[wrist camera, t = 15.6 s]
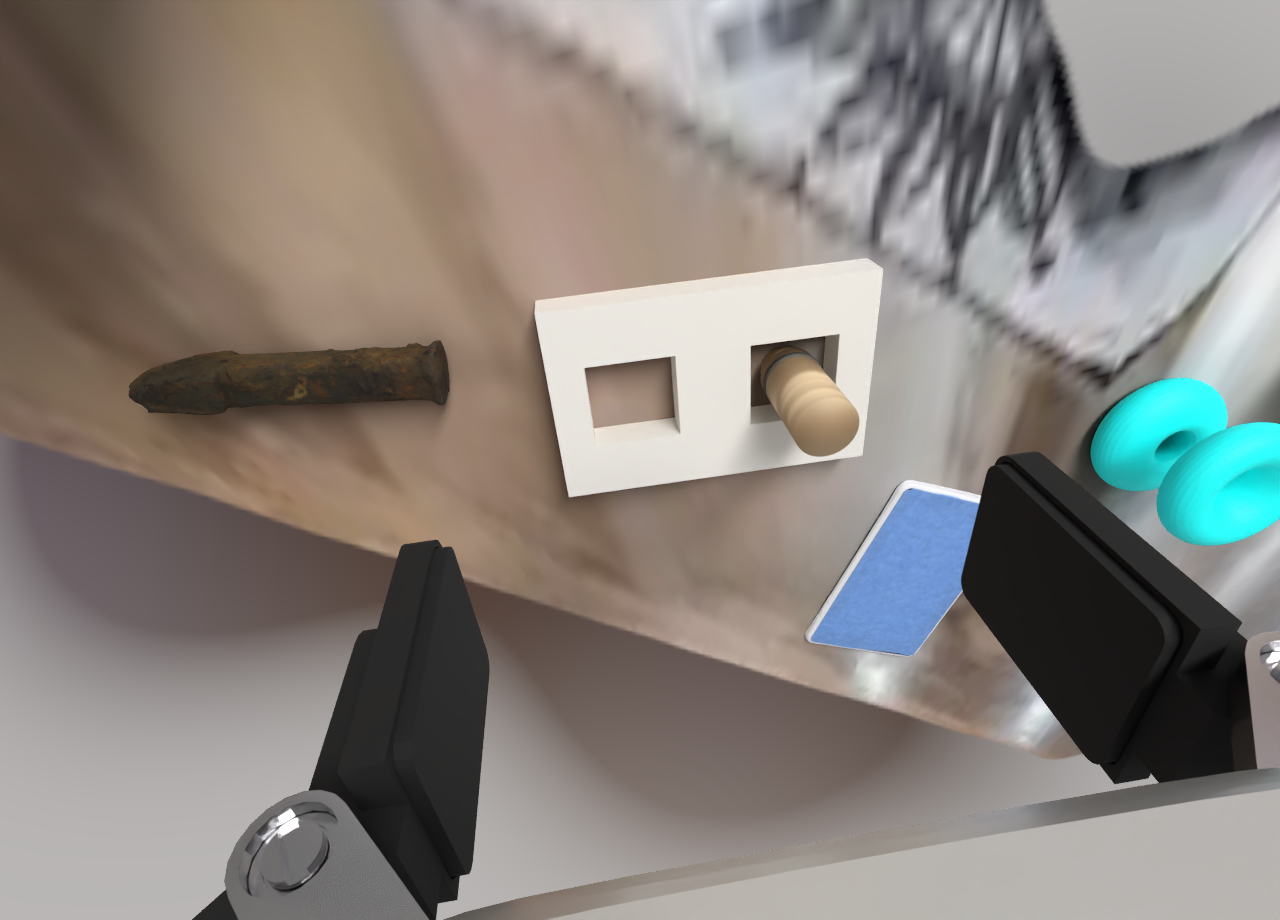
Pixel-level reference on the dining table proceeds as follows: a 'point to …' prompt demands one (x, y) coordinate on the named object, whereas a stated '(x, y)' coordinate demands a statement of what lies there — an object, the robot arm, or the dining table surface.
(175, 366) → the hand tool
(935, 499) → the tablet computer
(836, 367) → the hole board
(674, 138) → the dining table surface
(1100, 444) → the donuts
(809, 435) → the oak peg
